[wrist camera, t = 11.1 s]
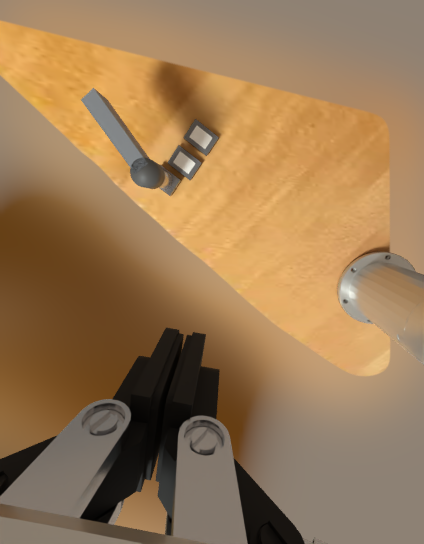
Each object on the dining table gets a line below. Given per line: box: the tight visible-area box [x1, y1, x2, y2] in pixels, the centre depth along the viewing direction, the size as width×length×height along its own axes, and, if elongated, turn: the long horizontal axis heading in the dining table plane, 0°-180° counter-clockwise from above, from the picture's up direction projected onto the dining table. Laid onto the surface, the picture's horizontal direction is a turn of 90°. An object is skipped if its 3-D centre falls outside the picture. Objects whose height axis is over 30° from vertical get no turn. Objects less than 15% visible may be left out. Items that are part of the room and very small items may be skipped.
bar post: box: [159, 165, 181, 196], centre depth 39 cm, size 4×3×7 cm
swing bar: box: [81, 88, 165, 189], centre depth 33 cm, size 3×12×4 cm, turn 35°
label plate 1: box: [184, 119, 219, 156], centre depth 41 cm, size 4×3×1 cm
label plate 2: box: [168, 146, 202, 180], centre depth 42 cm, size 4×3×1 cm
